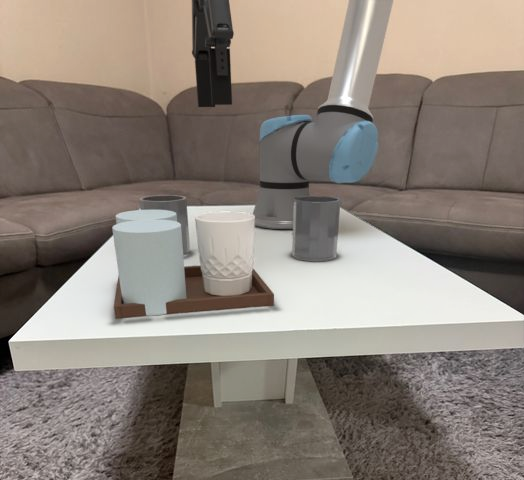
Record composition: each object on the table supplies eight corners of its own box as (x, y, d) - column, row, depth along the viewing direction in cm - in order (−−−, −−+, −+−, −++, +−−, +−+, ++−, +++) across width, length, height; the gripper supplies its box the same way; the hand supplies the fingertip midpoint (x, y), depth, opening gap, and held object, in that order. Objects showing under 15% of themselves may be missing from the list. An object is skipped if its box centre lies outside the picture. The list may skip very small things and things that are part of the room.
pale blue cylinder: (184, 292, 63) (178, 218, 59) (189, 312, 56) (183, 230, 52) (124, 296, 61) (113, 220, 57) (122, 318, 54) (110, 233, 50)
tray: (248, 275, 72) (248, 262, 71) (274, 309, 59) (274, 293, 58) (121, 284, 68) (119, 270, 67) (116, 323, 55) (113, 306, 54)
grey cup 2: (326, 249, 88) (330, 195, 83) (343, 260, 81) (347, 201, 76) (287, 251, 86) (288, 196, 82) (300, 262, 79) (302, 203, 75)
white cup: (248, 300, 60) (247, 222, 56) (191, 296, 62) (186, 220, 57) (260, 282, 67) (260, 212, 63) (209, 279, 68) (205, 210, 64)
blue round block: (179, 275, 70) (174, 208, 66) (184, 292, 63) (178, 218, 59) (126, 279, 68) (116, 210, 64) (124, 296, 61) (113, 220, 57)
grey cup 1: (187, 248, 88) (184, 194, 84) (192, 258, 81) (188, 200, 77) (145, 250, 87) (139, 195, 82) (146, 261, 80) (139, 202, 75)
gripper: (166, -51, 69) (180, 108, 79) (185, -128, 47) (200, 103, 57) (215, -48, 71) (222, 107, 80) (255, -121, 49) (258, 103, 59)
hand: (213, 106), depth 69 cm, fingers open, 13 cm apart
